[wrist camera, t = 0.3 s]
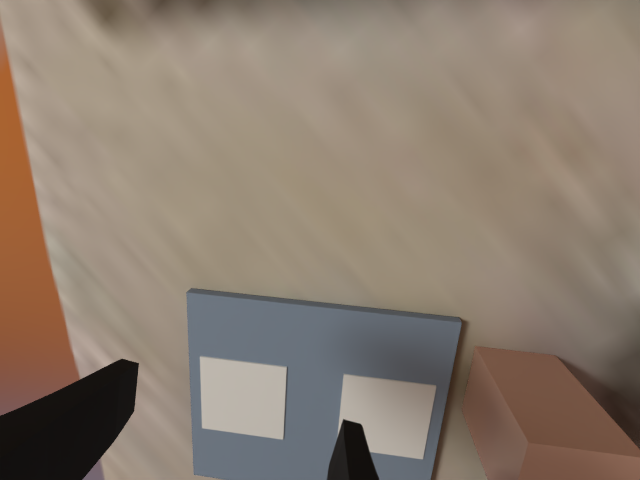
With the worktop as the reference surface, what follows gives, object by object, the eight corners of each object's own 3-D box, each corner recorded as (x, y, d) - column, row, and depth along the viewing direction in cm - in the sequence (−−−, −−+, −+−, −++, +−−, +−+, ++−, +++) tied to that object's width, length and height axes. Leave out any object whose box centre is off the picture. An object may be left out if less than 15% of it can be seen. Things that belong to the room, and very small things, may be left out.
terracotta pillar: (536, 419, 22) (614, 541, 15) (461, 409, 22) (504, 524, 16) (555, 355, 21) (648, 458, 14) (475, 346, 21) (528, 442, 15)
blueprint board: (423, 501, 25) (424, 511, 24) (197, 467, 26) (193, 475, 25) (459, 317, 21) (462, 323, 20) (190, 288, 22) (185, 293, 21)
